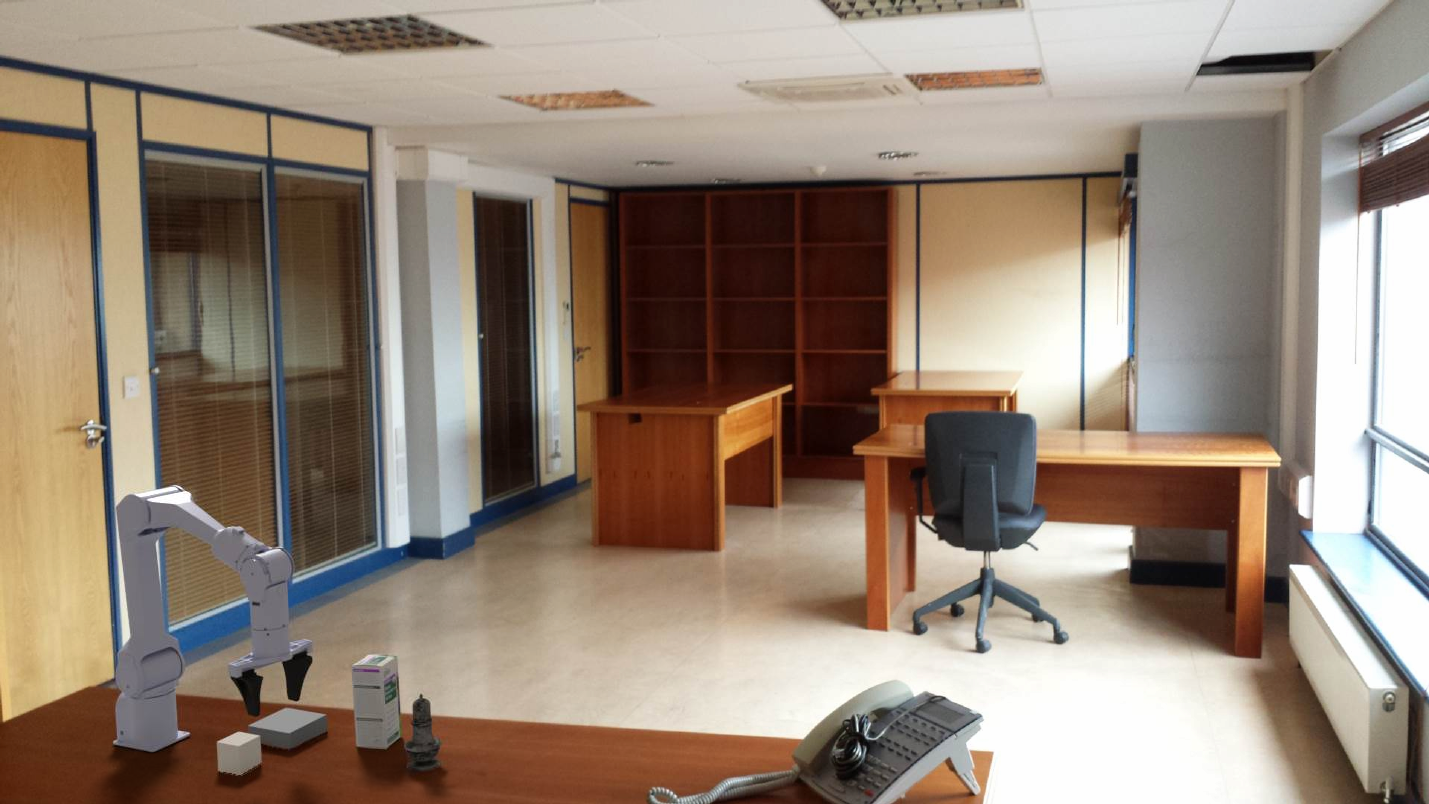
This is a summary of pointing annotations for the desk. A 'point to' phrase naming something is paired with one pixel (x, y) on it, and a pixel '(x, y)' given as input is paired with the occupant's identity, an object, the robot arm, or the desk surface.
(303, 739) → the block
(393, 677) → the syrup box
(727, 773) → the desk surface
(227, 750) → the cream white cube
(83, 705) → the desk surface
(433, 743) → the salt shaker
